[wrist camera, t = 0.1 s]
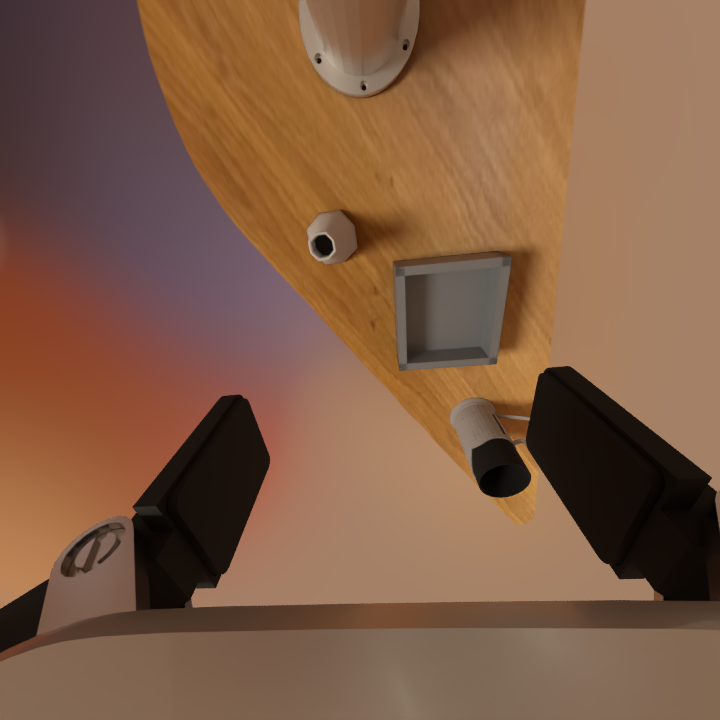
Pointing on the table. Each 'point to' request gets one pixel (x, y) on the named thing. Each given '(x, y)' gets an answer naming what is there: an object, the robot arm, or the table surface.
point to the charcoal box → (450, 309)
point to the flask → (332, 237)
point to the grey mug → (490, 448)
